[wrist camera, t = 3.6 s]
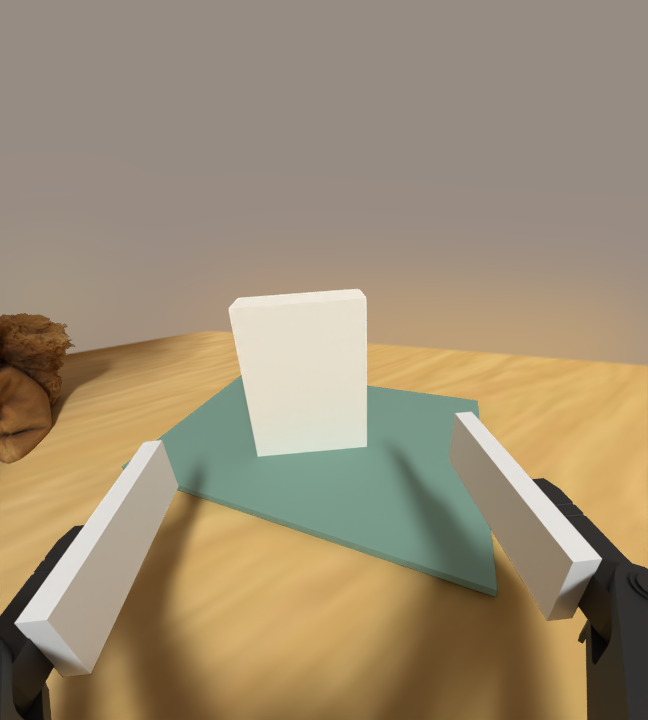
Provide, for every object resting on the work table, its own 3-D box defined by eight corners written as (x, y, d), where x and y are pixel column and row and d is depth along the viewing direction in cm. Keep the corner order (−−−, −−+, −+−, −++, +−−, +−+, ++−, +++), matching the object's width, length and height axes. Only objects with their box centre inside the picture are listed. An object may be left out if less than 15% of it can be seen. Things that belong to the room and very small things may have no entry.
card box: (257, 456, 22) (228, 308, 17) (262, 430, 25) (238, 296, 20) (367, 446, 22) (366, 298, 18) (360, 422, 25) (358, 287, 20)
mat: (124, 471, 22) (122, 466, 22) (249, 373, 36) (248, 369, 35) (495, 596, 14) (497, 590, 13) (476, 405, 27) (477, 400, 27)
